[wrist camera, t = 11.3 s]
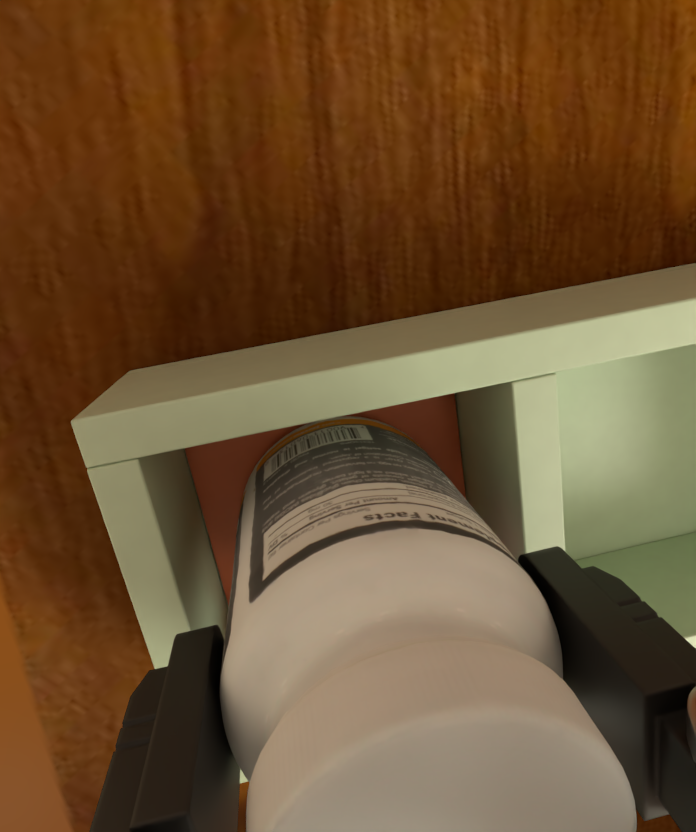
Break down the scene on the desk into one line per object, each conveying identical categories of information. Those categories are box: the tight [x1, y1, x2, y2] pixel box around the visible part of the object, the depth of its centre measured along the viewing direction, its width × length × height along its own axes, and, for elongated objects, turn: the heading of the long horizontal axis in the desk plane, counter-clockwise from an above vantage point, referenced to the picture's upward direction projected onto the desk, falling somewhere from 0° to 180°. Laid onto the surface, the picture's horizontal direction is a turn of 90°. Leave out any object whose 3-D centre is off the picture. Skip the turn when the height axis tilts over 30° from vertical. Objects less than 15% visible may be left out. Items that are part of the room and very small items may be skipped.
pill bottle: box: [219, 416, 637, 832], centre depth 11 cm, size 6×6×10 cm
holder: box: [71, 263, 696, 783], centre depth 15 cm, size 10×18×5 cm, turn 100°
